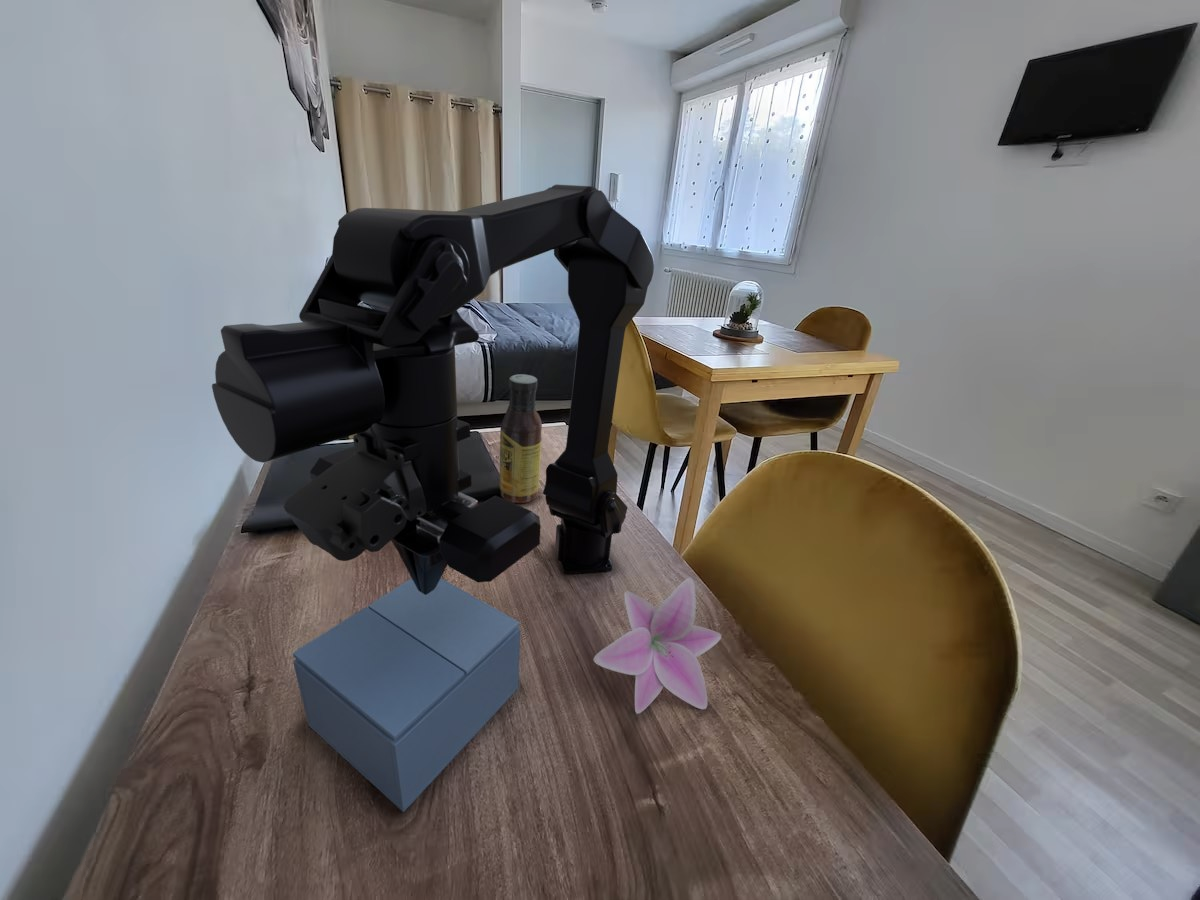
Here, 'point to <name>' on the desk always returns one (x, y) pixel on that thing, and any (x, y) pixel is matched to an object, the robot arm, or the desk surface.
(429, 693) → the carton
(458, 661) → the flap
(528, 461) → the sauce bottle
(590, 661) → the desk surface
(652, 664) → the lily
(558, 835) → the desk surface
